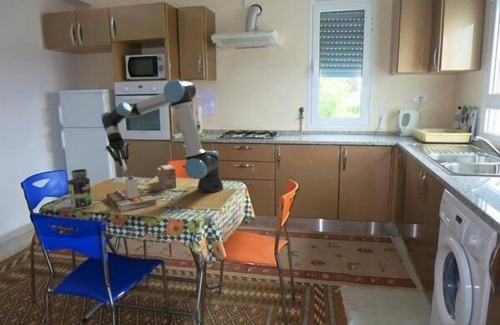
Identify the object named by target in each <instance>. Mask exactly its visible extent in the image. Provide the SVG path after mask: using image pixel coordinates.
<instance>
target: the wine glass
mask: <svg viewBox="0 0 500 325" xmlns="http://www.w3.org/2000/svg"><path fill="white" fill-rule="evenodd" d="M70 173H71V178H72V179H77V178H88V171H87V169H86V168H79V169H74V170H71V172H70Z"/></svg>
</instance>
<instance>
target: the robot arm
mask: <svg viewBox="0 0 500 325" xmlns="http://www.w3.org/2000/svg"><path fill="white" fill-rule="evenodd" d="M196 95H197V88H196V84H194V83H193V82H192V81H191V80H188V79H178V78H177V79H171V80H169V81H167V83H165V85H164V87H163V92H162V93H159V94H156V95H153V96H151V97H149V98H145V99H143V100H140V101H139V102H135V103H132V104H129V103H128V102H125V101H122V102H120V103H119V104H118V105H116V107H114V109H112V111H105V112H103V113H102V114H101V117H100V118H101V123H102V126H103V128H104V132H105V135H106V137H107V141H108V145H106V146H105V150H106V151H107V152H108V153H109V155H110V156H111V157H112V160H114V162H118V164H119V166H120V167H122V170H123V172H127V170H128V167H127V165H128V161H127V160H129V147H130V143H129V142H126V143H125V141H124V140H123V137H122V134H121V131H120V128H119V124H120V123H121V122H122V121H123V120H125V119H131V118H138V117H141V116H143V115H144V114H147V113H151V112H154V111H156V110H158V109H161V108H163V107H164V108H165V107H167V106H169V105H170V107H171V109H173V110H174V111H175V114H176V118H177V121H178V125H179V129H180V132H181V137H182V140H183V143H184V148H185V151H186V154H185V156H184V157H185V161H186V162H185V164H184V171H185V173H186V174H187V176H188V177H190V178H191V179H193V180H198V182H197V191H198V192H200V193H217V192H220V191H222V190H223V189H224V184H223V181H222V178H221V176H220V172H221V171H220V154H219V151H217V150H205V149H204V148H203V147H202V143H201V139H200V138H201V137H200V135H199V131H198V129H197V125H196V124H197V123H196V120H195V116H194V113H193V110H192V107H191V106H192V104H193V99H194V98H195V96H196ZM124 148H125V152H124Z"/></svg>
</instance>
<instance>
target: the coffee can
mask: <svg viewBox="0 0 500 325" xmlns="http://www.w3.org/2000/svg"><path fill="white" fill-rule="evenodd" d="M67 184H68V191H69V199H70V206H71V209H72V210H83V209H82V208H84V209H87V207H88V208H90V207H92V206H93V201H92V191H91V185H90V184H91V183H90V178H88V177H87V178H77V179H73V178H72V179H69V180H68V181H67Z"/></svg>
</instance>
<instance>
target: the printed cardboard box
mask: <svg viewBox="0 0 500 325" xmlns="http://www.w3.org/2000/svg"><path fill="white" fill-rule="evenodd" d="M156 170H157V176H158V177H157V178H158V179H157V180H158V182H159V184H160V185H162V186H163V187H164V188H165V190H168V189H176V188H177V179H176V178H177V176H176V168H175V167H174V166H172V165H171V164H164V165H160V166H159V167H157V168H156Z"/></svg>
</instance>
